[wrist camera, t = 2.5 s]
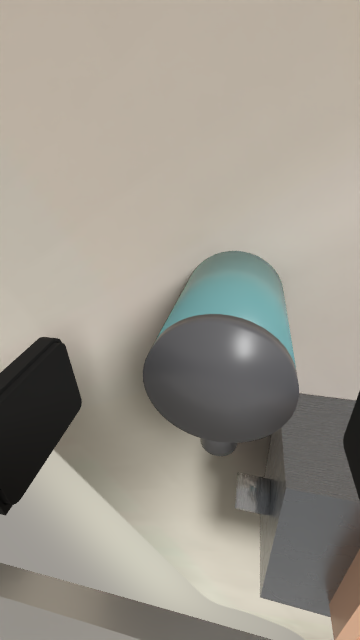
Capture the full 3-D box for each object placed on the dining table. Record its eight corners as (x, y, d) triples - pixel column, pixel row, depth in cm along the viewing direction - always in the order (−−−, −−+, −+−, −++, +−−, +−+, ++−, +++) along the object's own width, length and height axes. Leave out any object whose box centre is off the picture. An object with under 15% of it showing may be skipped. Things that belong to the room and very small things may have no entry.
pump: (290, 252, 14) (312, 332, 8) (273, 367, 17) (280, 484, 11) (185, 249, 15) (134, 317, 9) (189, 358, 18) (154, 459, 12)
